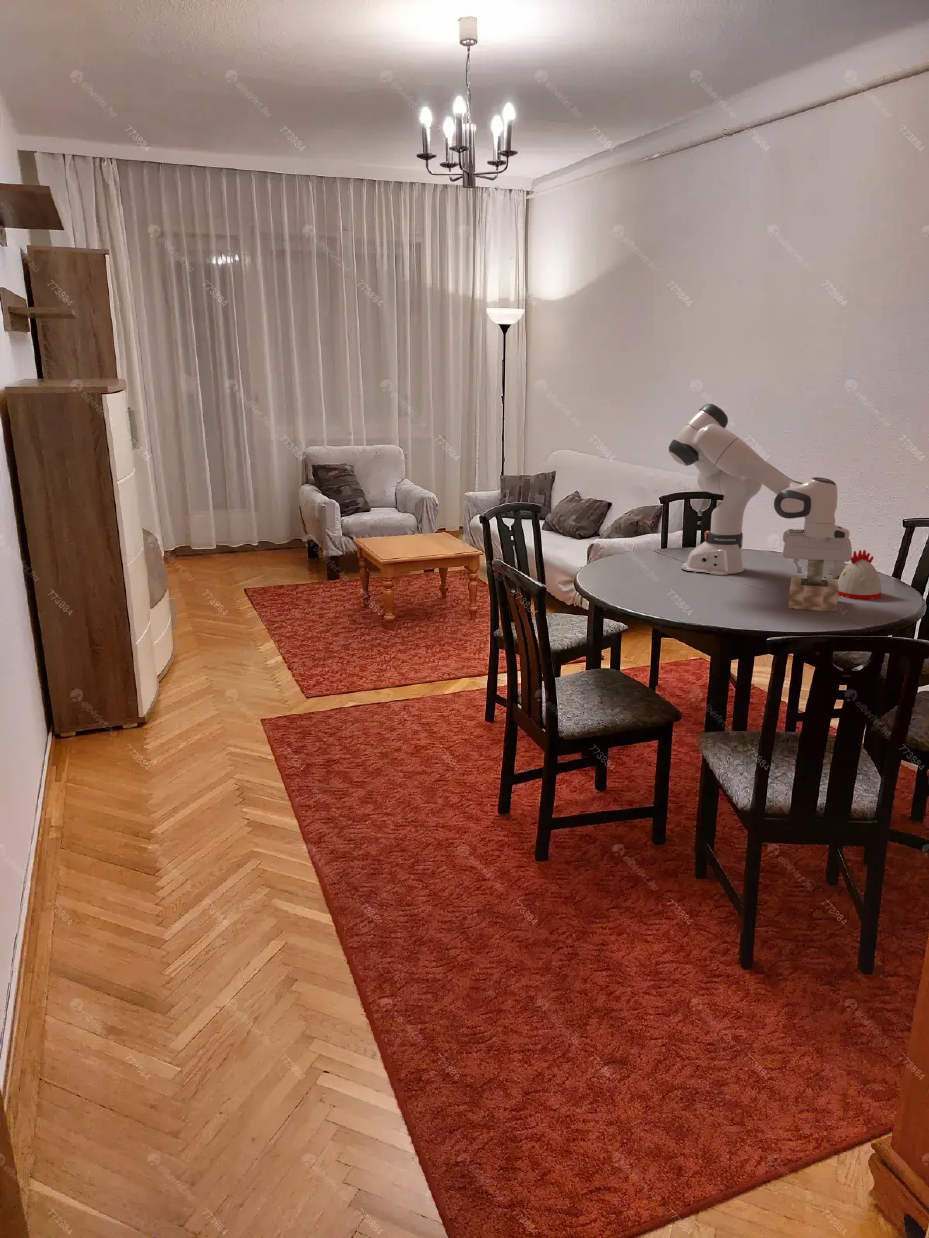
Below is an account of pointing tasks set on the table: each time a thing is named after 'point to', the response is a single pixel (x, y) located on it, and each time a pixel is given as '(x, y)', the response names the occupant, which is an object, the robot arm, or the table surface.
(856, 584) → the kitchen timer
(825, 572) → the skincare box
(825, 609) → the birch holder
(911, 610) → the table surface
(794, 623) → the table surface
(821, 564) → the peg
